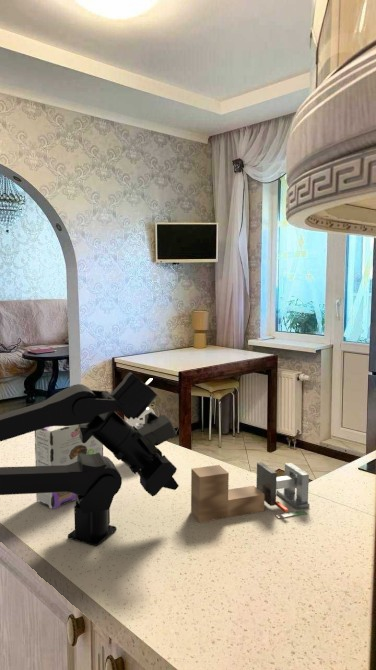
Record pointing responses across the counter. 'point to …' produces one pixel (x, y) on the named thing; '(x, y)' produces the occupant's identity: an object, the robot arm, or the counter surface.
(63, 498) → the candy box
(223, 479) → the walnut block
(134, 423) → the cup with straw
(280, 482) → the grey bracket
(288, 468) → the gauge housing
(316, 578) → the counter surface
